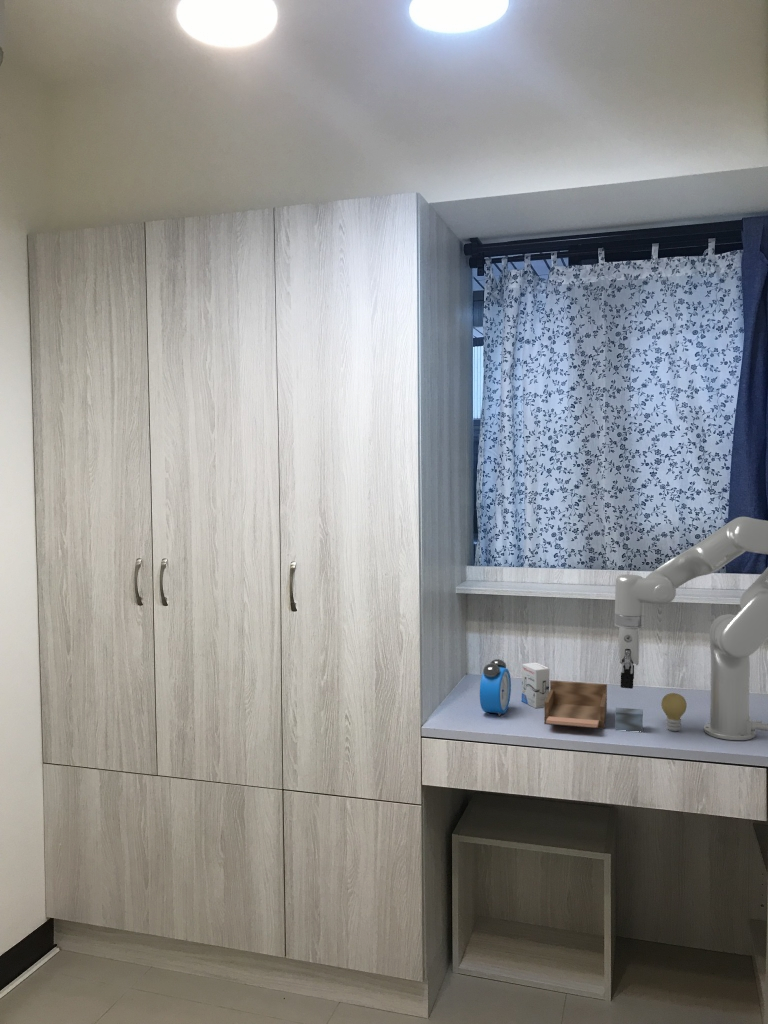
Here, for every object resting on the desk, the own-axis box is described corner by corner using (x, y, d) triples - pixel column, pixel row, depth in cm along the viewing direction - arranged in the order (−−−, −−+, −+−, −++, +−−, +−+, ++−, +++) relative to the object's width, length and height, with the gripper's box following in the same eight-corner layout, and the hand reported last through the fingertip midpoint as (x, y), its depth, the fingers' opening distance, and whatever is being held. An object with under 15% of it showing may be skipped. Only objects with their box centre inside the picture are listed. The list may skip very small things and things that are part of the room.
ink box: (520, 701, 254) (520, 663, 253) (535, 699, 255) (535, 661, 255) (535, 708, 246) (535, 669, 245) (550, 706, 247) (550, 667, 247)
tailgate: (599, 719, 226) (597, 724, 219) (599, 722, 226) (597, 727, 219) (549, 715, 230) (546, 720, 223) (549, 718, 230) (546, 723, 223)
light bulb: (666, 725, 229) (666, 689, 228) (689, 729, 225) (690, 692, 224) (657, 730, 224) (657, 694, 223) (681, 735, 220) (681, 698, 219)
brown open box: (606, 713, 240) (606, 684, 240) (603, 728, 226) (604, 697, 226) (550, 708, 245) (550, 680, 245) (544, 723, 231) (544, 693, 230)
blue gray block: (642, 727, 227) (642, 709, 227) (642, 732, 223) (642, 714, 222) (615, 725, 229) (615, 707, 229) (615, 730, 225) (615, 712, 224)
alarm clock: (499, 720, 235) (499, 667, 234) (478, 717, 237) (478, 665, 237) (511, 707, 247) (511, 657, 246) (491, 705, 249) (491, 656, 249)
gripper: (643, 627, 215) (641, 692, 216) (643, 616, 232) (642, 677, 232) (613, 625, 217) (611, 690, 218) (615, 614, 234) (614, 674, 235)
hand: (627, 683), depth 225 cm, fingers open, 9 cm apart
